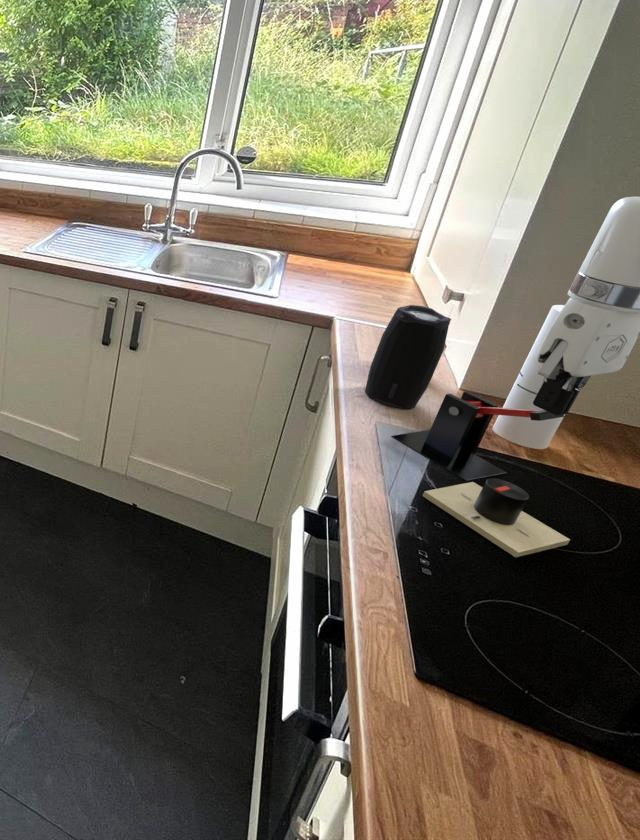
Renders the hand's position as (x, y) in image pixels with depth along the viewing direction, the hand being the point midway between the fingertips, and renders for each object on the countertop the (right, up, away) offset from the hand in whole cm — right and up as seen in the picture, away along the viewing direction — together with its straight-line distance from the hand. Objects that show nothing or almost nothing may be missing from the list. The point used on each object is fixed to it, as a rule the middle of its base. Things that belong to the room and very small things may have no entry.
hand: (549, 409), depth 84 cm
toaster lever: (-1, -3, +5) cm, 6 cm away
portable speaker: (+1, -5, +30) cm, 30 cm away
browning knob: (-9, -15, -1) cm, 17 cm away
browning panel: (-9, -17, 0) cm, 19 cm away
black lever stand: (-3, -11, +14) cm, 18 cm away
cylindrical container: (+15, -10, +19) cm, 27 cm away
